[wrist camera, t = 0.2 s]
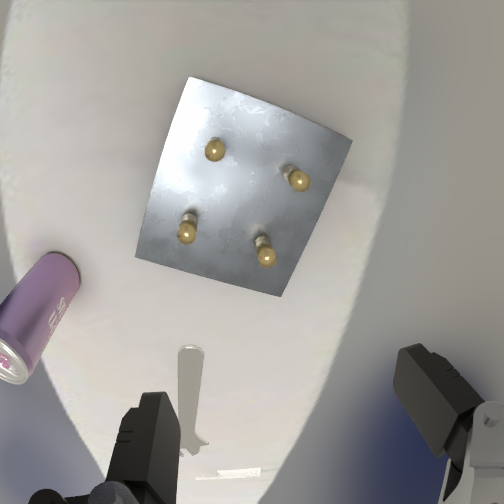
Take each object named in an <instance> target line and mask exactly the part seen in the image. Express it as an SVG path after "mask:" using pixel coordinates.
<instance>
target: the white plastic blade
mask: <svg viewBox="0 0 504 504" xmlns="http://www.w3.org/2000/svg"><path fill="white" fill-rule="evenodd" d="M217 472H218V473H217V475H215V476H195V478H196V480H207V479H230V478H244V477H255V476H261V468H250V469H239V470H223V471H217Z"/></svg>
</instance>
